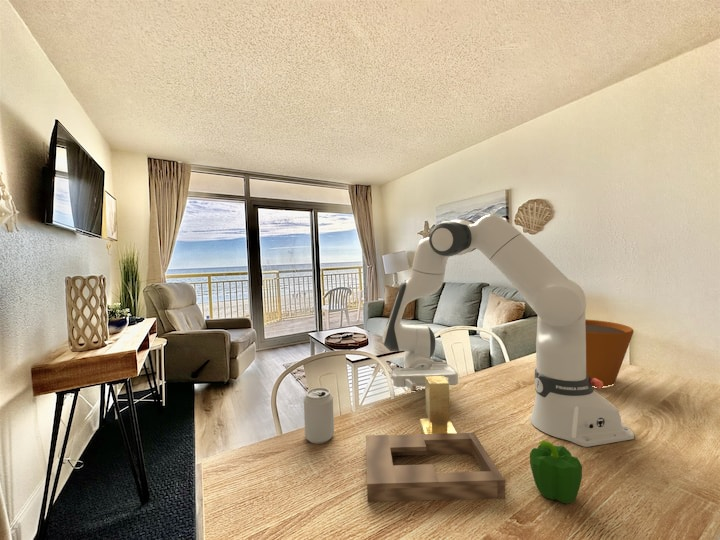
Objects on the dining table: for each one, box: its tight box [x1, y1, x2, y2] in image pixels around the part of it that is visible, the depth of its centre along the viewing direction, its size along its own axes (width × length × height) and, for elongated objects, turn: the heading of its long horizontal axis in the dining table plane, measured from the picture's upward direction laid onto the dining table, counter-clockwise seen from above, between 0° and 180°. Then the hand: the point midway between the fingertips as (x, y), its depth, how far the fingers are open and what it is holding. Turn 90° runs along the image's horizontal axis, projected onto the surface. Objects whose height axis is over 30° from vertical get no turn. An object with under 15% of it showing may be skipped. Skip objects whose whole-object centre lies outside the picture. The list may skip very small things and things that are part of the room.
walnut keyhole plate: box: [365, 432, 506, 503], centre depth 66 cm, size 26×16×4 cm, turn 90°
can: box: [303, 387, 335, 445], centre depth 80 cm, size 8×8×12 cm
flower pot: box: [585, 318, 634, 386], centre depth 111 cm, size 24×24×20 cm
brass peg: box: [419, 376, 458, 434], centre depth 81 cm, size 8×8×14 cm
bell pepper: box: [529, 440, 583, 505], centre depth 59 cm, size 8×8×10 cm
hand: (429, 387), depth 90 cm, fingers open, 8 cm apart
